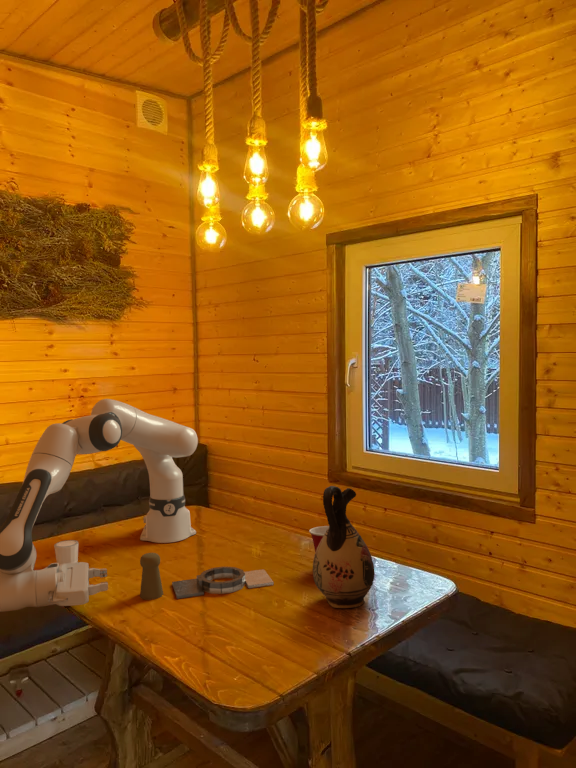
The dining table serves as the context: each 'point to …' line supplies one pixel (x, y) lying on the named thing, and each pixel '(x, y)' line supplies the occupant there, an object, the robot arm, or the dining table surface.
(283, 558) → the dining table surface
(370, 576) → the ceramic jug
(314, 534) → the plastic cup
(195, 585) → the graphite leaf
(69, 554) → the shot glass
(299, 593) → the dining table surface
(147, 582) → the cork
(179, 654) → the dining table surface
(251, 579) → the ring
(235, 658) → the dining table surface
